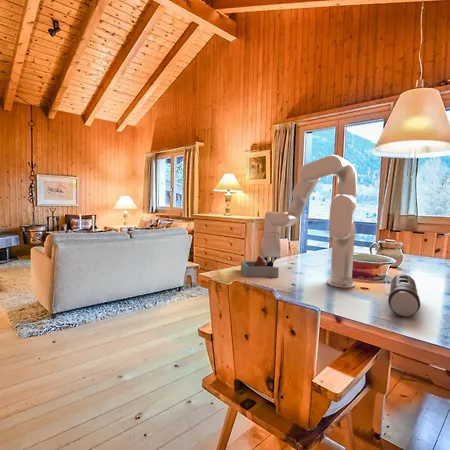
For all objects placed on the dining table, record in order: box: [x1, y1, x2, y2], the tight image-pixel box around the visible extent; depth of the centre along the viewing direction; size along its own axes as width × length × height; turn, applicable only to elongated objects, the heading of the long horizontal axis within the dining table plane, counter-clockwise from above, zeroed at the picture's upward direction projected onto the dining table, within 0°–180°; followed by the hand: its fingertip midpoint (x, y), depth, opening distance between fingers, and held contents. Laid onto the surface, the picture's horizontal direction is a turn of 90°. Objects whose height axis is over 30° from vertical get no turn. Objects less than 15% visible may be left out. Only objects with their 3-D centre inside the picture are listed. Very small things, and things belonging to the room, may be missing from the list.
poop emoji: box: [252, 255, 267, 267], centre depth 165 cm, size 10×8×9 cm
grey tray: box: [240, 260, 280, 278], centre depth 166 cm, size 18×17×5 cm
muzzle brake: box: [387, 273, 421, 317], centre depth 118 cm, size 10×28×10 cm, turn 151°
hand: (269, 269), depth 167 cm, fingers closed
